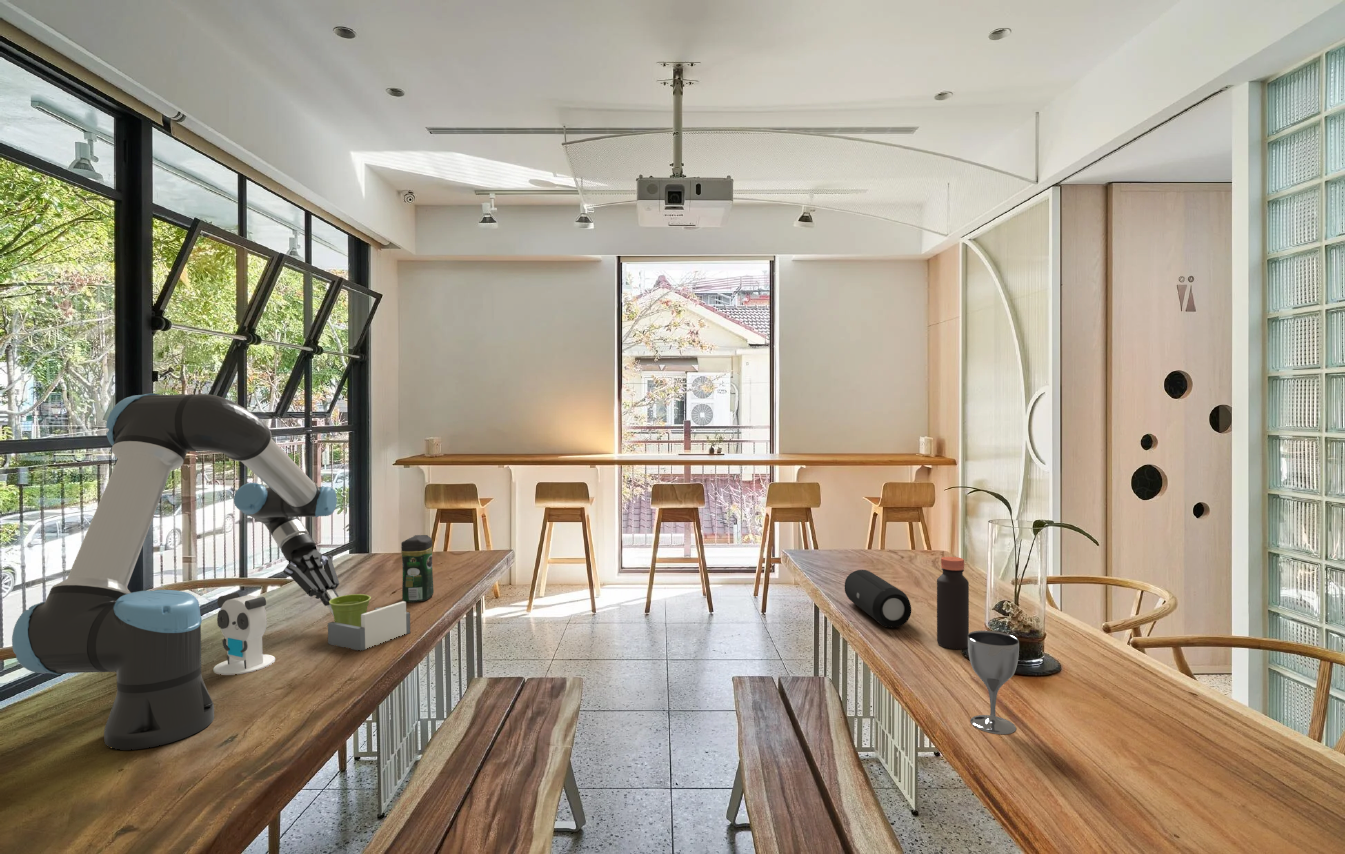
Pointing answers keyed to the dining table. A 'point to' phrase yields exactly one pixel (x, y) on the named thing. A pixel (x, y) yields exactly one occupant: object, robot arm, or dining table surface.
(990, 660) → the wine glass
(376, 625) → the box
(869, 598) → the portable speaker
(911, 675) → the dining table surface
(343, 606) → the plant pot
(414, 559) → the coffee jar
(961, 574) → the bottle
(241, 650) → the panda figurine
